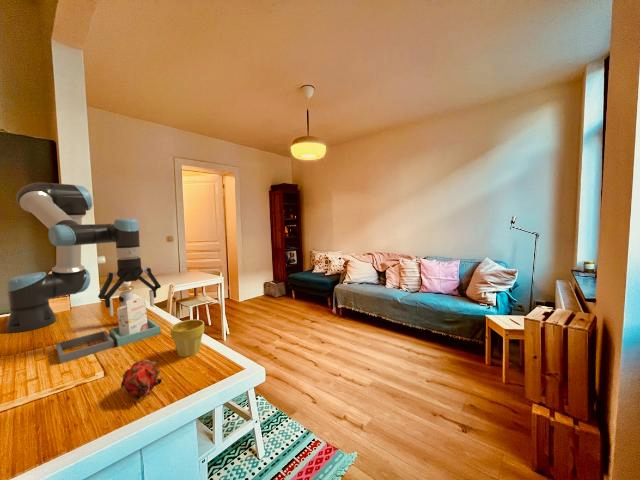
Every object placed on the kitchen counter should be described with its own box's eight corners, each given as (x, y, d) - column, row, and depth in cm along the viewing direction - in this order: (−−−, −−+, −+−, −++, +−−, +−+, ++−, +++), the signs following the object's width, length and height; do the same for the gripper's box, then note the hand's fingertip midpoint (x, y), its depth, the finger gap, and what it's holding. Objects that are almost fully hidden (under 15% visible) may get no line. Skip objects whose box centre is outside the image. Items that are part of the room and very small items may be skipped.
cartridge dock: (56, 350, 94) (55, 343, 94) (105, 336, 104) (105, 330, 104) (60, 363, 85) (59, 356, 85) (114, 347, 95) (113, 340, 95)
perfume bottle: (134, 319, 123) (131, 277, 121) (138, 322, 119) (135, 278, 117) (119, 323, 118) (116, 279, 117) (123, 326, 114) (119, 281, 113)
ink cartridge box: (138, 328, 110) (135, 294, 108) (148, 329, 109) (145, 294, 107) (119, 337, 101) (115, 300, 100) (129, 338, 100) (126, 301, 99)
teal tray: (109, 336, 104) (108, 329, 104) (149, 325, 115) (149, 318, 115) (118, 346, 95) (117, 338, 95) (160, 333, 106) (160, 326, 106)
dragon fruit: (144, 383, 76) (147, 413, 66) (113, 377, 71) (111, 408, 61) (163, 357, 77) (169, 382, 68) (134, 349, 72) (135, 375, 63)
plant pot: (212, 348, 93) (210, 321, 92) (186, 362, 83) (184, 333, 83) (191, 342, 97) (190, 317, 96) (165, 356, 88) (163, 328, 87)
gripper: (88, 263, 91) (94, 322, 93) (167, 255, 110) (170, 304, 111) (85, 261, 96) (90, 317, 98) (160, 253, 115) (163, 300, 116)
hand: (132, 310), depth 104 cm, fingers open, 13 cm apart
